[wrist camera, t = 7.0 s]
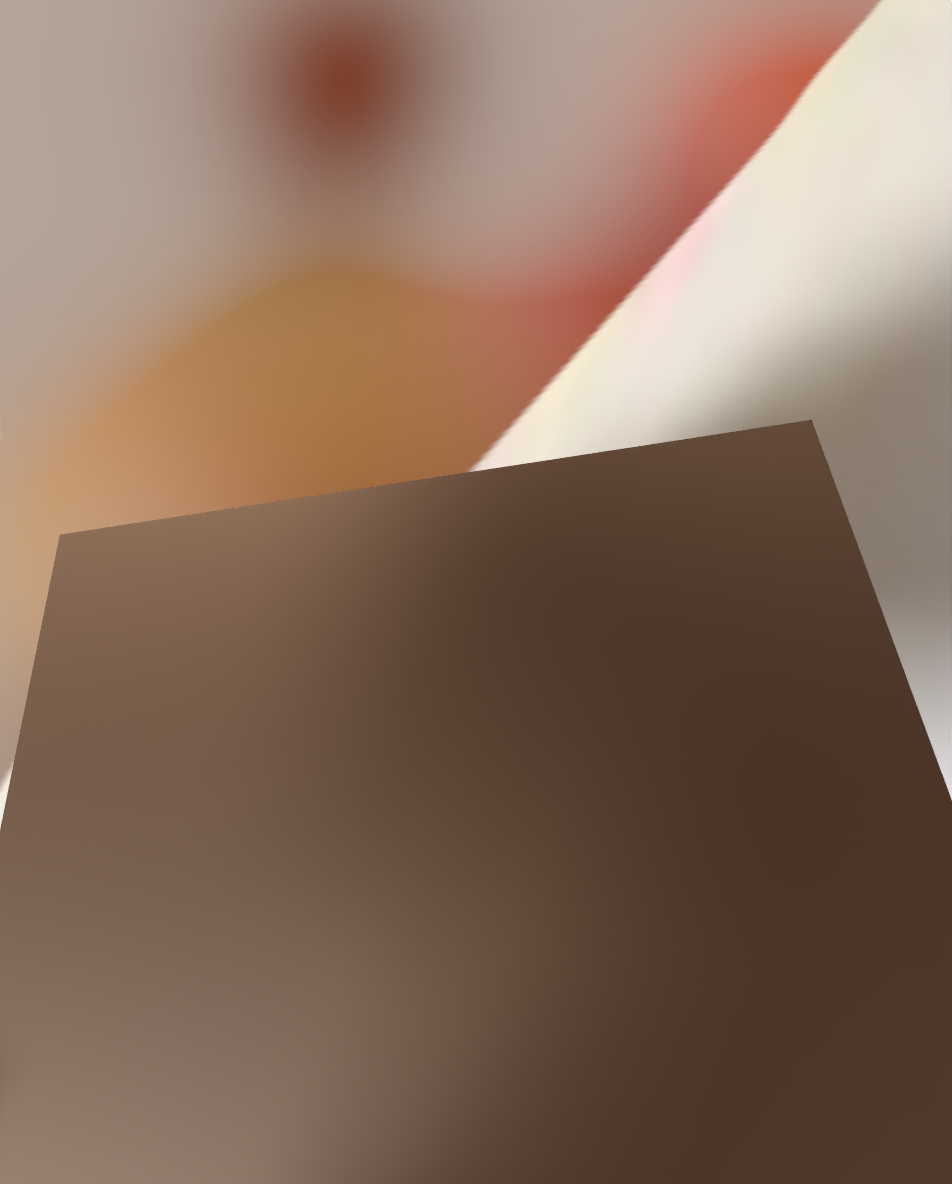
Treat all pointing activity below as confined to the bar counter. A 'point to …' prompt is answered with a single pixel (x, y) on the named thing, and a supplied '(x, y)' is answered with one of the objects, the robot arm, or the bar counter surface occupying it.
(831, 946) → the tapered wooden block
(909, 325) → the bar counter surface
